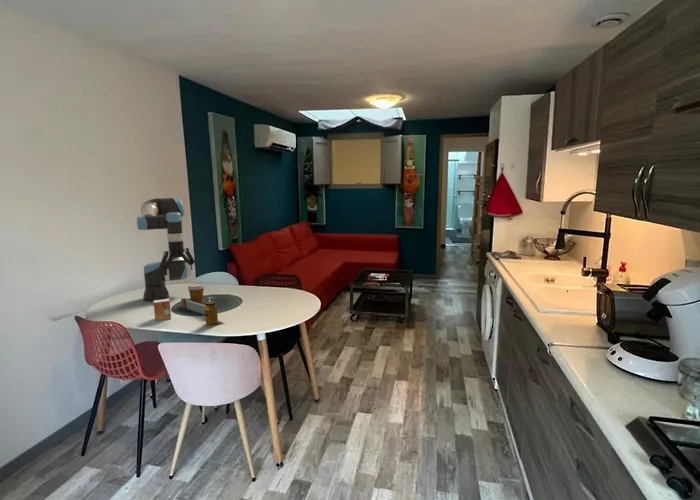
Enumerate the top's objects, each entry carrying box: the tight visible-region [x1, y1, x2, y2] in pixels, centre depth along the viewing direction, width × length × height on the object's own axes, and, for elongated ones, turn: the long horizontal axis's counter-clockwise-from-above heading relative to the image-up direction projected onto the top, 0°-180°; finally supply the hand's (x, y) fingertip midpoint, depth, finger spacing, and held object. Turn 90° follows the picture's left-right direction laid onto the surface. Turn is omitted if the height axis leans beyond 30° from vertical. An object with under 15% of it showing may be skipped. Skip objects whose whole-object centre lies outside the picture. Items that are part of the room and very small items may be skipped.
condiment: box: [202, 301, 224, 328], centre depth 202 cm, size 7×8×12 cm
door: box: [185, 299, 206, 315], centre depth 220 cm, size 21×2×6 cm, turn 55°
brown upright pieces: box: [180, 297, 188, 310], centre depth 220 cm, size 29×2×6 cm, turn 55°
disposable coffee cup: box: [187, 282, 205, 304], centre depth 237 cm, size 10×10×12 cm
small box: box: [153, 298, 172, 322], centre depth 210 cm, size 8×6×10 cm
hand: (178, 278), depth 214 cm, fingers open, 13 cm apart
